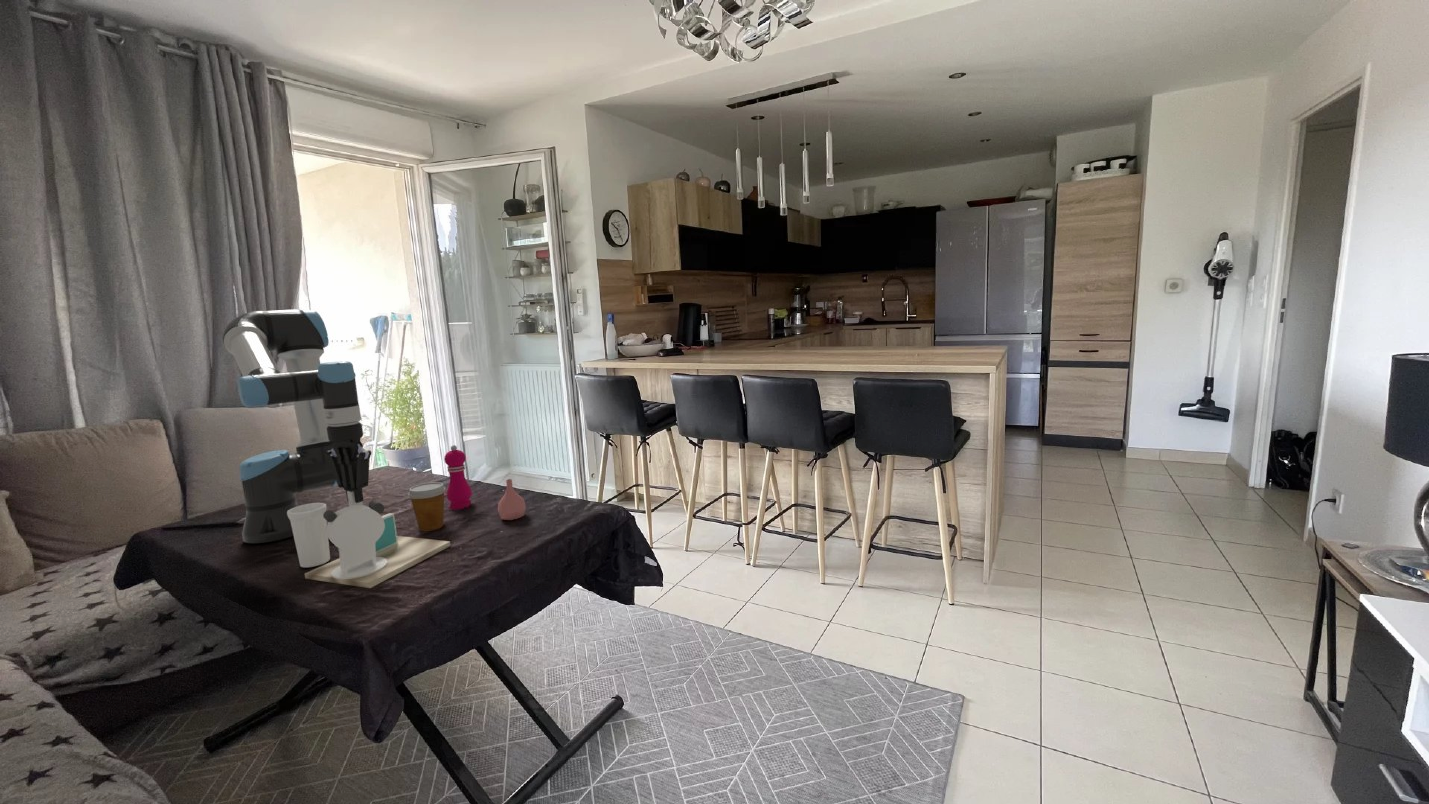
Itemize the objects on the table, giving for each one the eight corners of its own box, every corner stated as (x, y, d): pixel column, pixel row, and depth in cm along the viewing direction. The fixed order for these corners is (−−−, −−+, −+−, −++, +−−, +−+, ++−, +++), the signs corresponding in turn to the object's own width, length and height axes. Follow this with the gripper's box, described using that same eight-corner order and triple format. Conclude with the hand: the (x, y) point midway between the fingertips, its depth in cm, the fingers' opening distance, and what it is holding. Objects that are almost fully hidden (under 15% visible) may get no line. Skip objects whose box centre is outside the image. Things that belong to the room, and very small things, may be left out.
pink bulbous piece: (532, 518, 171) (528, 478, 169) (508, 526, 165) (503, 485, 163) (517, 513, 176) (514, 474, 174) (494, 521, 170) (489, 481, 169)
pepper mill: (443, 511, 181) (435, 448, 178) (457, 503, 188) (449, 442, 185) (464, 511, 180) (457, 448, 177) (477, 504, 187) (471, 442, 184)
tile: (366, 554, 147) (362, 524, 145) (393, 542, 154) (389, 513, 153) (371, 555, 146) (367, 524, 145) (398, 543, 153) (394, 513, 152)
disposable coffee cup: (456, 521, 172) (451, 481, 170) (437, 533, 162) (432, 491, 161) (425, 521, 173) (420, 481, 171) (405, 533, 163) (399, 492, 162)
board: (305, 578, 137) (304, 573, 137) (391, 539, 160) (390, 535, 159) (370, 588, 131) (369, 583, 131) (450, 545, 153) (449, 541, 153)
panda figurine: (382, 553, 147) (374, 495, 145) (397, 566, 139) (388, 504, 137) (326, 569, 139) (316, 508, 136) (338, 584, 131) (328, 519, 128)
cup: (291, 573, 141) (282, 516, 138) (300, 560, 148) (291, 506, 146) (331, 566, 144) (322, 510, 141) (337, 554, 151) (329, 500, 149)
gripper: (310, 426, 146) (325, 517, 149) (349, 426, 142) (363, 521, 145) (338, 420, 153) (351, 508, 156) (376, 421, 149) (389, 510, 152)
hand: (357, 514), depth 151 cm, fingers closed
